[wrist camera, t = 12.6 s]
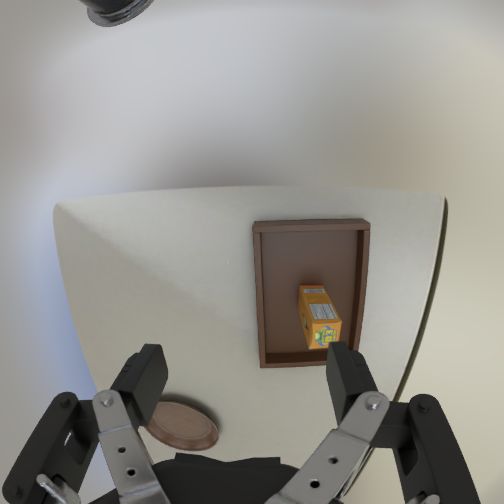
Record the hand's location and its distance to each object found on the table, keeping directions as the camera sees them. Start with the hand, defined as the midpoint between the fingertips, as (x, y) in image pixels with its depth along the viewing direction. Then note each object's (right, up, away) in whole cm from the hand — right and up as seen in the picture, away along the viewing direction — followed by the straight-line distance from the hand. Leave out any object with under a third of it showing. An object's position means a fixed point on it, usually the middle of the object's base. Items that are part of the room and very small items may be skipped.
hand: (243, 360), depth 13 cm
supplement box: (+8, 0, +24) cm, 25 cm away
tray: (+8, 0, +25) cm, 26 cm away
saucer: (-13, -26, +33) cm, 44 cm away
